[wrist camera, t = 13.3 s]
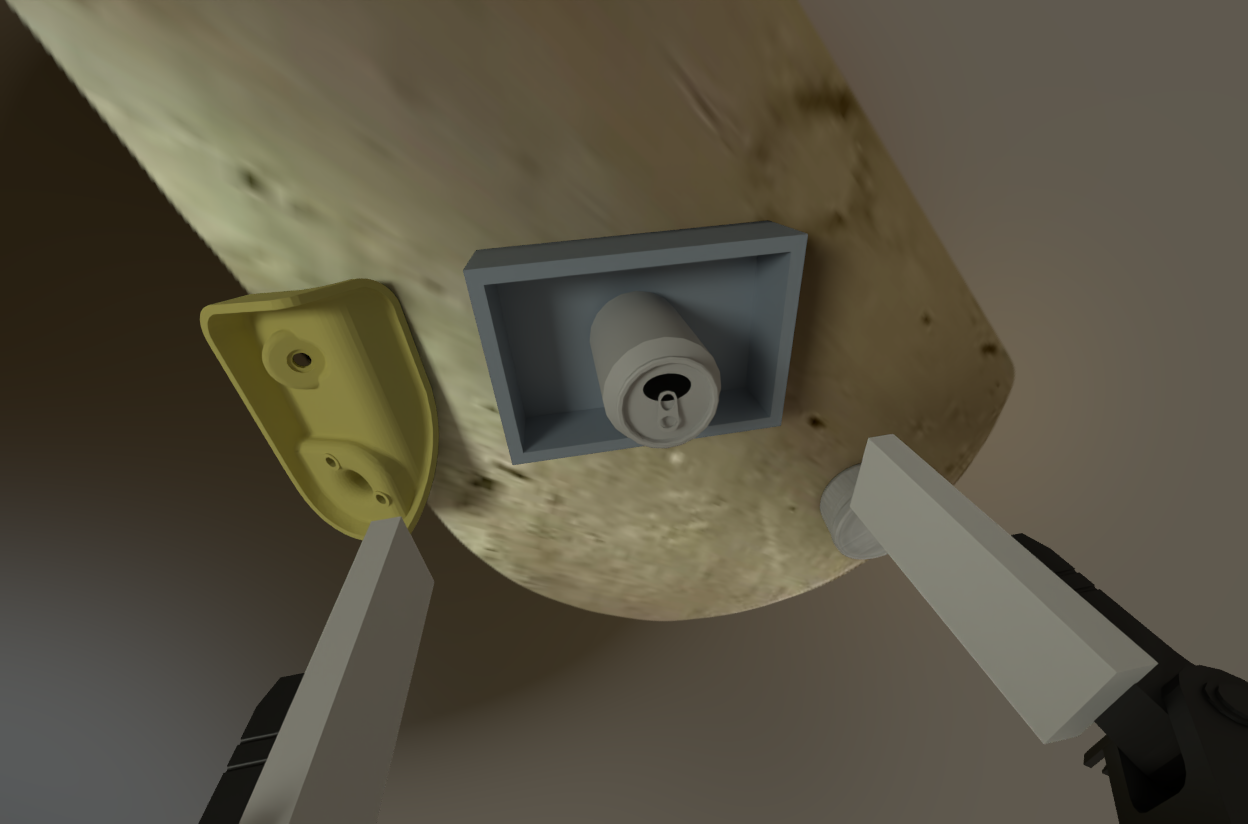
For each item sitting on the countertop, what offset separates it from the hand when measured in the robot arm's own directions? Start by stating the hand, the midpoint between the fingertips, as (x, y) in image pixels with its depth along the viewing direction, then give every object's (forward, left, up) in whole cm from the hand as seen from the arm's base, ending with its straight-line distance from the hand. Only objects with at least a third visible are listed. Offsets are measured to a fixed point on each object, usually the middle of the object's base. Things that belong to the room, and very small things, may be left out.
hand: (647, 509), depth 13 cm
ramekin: (+28, +29, -26) cm, 47 cm away
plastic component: (+8, -20, -26) cm, 33 cm away
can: (+4, +4, -25) cm, 25 cm away
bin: (+5, +4, -25) cm, 26 cm away
